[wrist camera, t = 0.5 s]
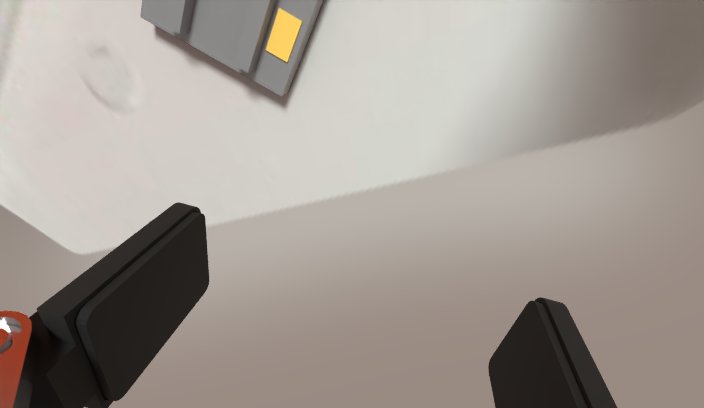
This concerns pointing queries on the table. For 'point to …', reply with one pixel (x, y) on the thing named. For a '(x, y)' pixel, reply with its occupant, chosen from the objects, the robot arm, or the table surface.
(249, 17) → the switch panel
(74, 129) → the table surface
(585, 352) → the robot arm
